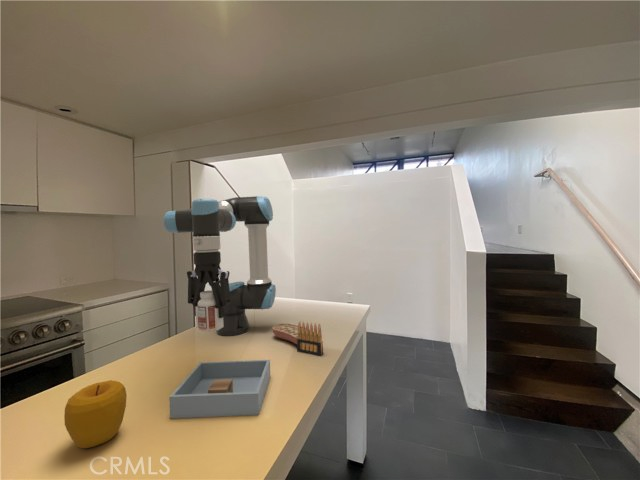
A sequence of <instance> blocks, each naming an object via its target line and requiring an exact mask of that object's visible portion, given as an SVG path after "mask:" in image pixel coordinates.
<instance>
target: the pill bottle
mask: <svg viewBox="0 0 640 480" xmlns="http://www.w3.org/2000/svg"><path fill="white" fill-rule="evenodd" d="M200 298H201V300H199V301H198V322H199V328H198V330H199V331H200V332H212V331H216V330H215V308H216V307H217V305H216V301H215V298H214V295H213V292H212V289H211V290H210V289H209V290H204V291H203V292H201V293H200Z"/></svg>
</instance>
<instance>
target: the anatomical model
mask: <svg viewBox="0 0 640 480" xmlns="http://www.w3.org/2000/svg"><path fill="white" fill-rule="evenodd" d="M301 330H302V326H301ZM305 331H306V327H305ZM309 332H310V329H309ZM272 333H273V334H274V336H275V337H276V338H279V339H281V340H286V341H288V342H292V343H293V344H296V345H297V339H298V325H296V324H291V323H277V324H275V325H273V326H272ZM313 333H314V331H313Z"/></svg>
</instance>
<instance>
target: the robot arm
mask: <svg viewBox="0 0 640 480" xmlns="http://www.w3.org/2000/svg"><path fill="white" fill-rule="evenodd" d="M273 213H274V211H273V206H272V204H271V201H270V199H269V198H268V197H266V196H262V195H261V196H259V195H255V196H238V197H232V198H231V197H230V198H227V199H223V200H219V201H218V200H217V199H213V198H212V199H211V198H196V199H193V200H192V201H191V208H189V209H182V210H178V209H176V210H169V211H167V212H165V214H164V215H163V216H164V217H163V226H164V228H165V230H166V231H167V232H169V233H175V234H180V233H182V234H183V233H192V248H193V251H194V253H193V265H195V267H194V269H193V270H189V271H187V272H186V276H187V279H188V280H187V281H188V282H187V304H189V305H192V306H193V312H194V314H193V315H194V316H195V326H196V329H199V322H198V301H199V300H201V298H200V293H201V292H203V291H206V290H205V289H206V285H207V284H208V285H209V286H210V287H211V288H210V289H211V290H212V292H213V295H214V298H215V301H216V305H217V307H216V308H215V330H214V331H216V334H217V335H219V336H224V337H228V336H229V337H230V336H238V335H242V334H244V333H246V332H248V331H249V330H250V322H249V320H248V316H247V314H246V310H269V309H272V307H273V305H274V303H275V300H276V299H275V298H276V294H277V293H276V291H277V289H276V285H275V284H273V283H272V279H271V278H270V277H269V268H268V266H269V265H268V263H269V262H268V238H267V233H268V232H267V228H268V227H269V226H270V222H271V221H273V218H274V217H273V216H274V214H273ZM237 222H239V223H240V222H242V223H243V222H244V226H245V228H247V234H248V235H247V236H248V239H247V240H248V258H249V259H248V261H249V262H248V263H249V279H248V280H247V282H246V284H245V281H236V282H235V281H233V282H231V283H230V282H229V278H230V271H229V270H226V271H225V270H222V268H221V266H220V265H221V261H222V259H221V258H222V257H221V256H222V255H221V251H219V250H221V234H220V233H224V232H225V233H227V232H229V231H232V230H233V229H234V228H235V227H236V223H237Z"/></svg>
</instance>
